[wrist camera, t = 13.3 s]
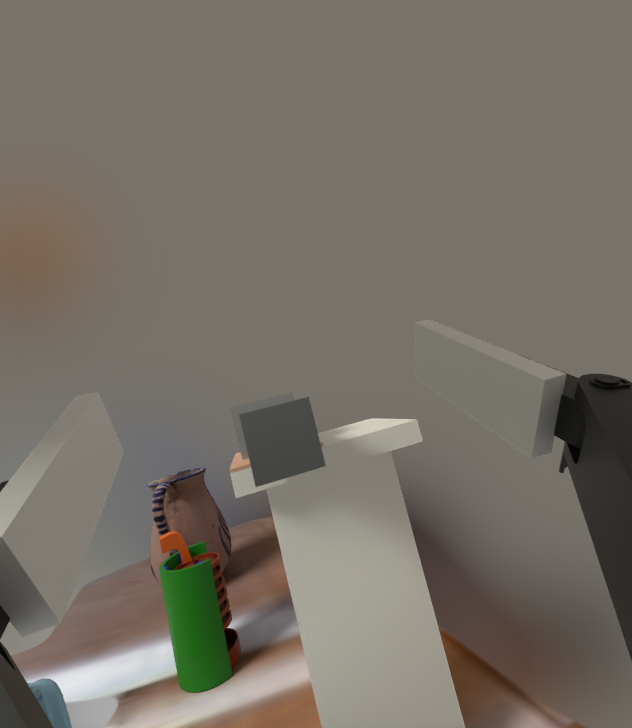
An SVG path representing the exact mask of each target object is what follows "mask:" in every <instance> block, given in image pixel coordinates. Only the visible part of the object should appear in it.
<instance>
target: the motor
mask: <svg viewBox="0 0 632 728" xmlns="http://www.w3.org/2000/svg"><path fill="white" fill-rule="evenodd" d="M159 539H160V545H161V551H162V554H164V553H166V552H168V551H169V550H171V549H178V551H179V552H177V553H175V554H173V555H172V556H170V557H169V558H167V559H166V560H165V561H164V562H163V563H162V564H161V565H160V567H159V572H160V578H161V583H162V589H163V595H164V600H165V606H166V612H167V617H168V623H169V629H170V634H171V640H172V646H173V651H174V657H175V663H176V668H177V674H178V680H179V684H180V687H181V688H182V689H183V690H185V691H187V692H202V691H205V690H209V689H211V688H214V687H216V686H218V685H220V684H221V683H223V682H225V681H226V680H227V679H229V678H230V677H231V676H233V675H232V670H231V669H232V668H233V667H234V666H235V664H236V663H237V662H238V660H239V658H240V655H241V649H240V644H239V638H238V634H237V632H236V631H235V630H234V629H231V628H227V627H228V626H229V624H230V622H231V620H232V615H231V611H230V609H229V607H230V605H229V600H228V598H227V589H226V587H225V586H224V585H225V579H224V576H223V575H222V573H223V569H222V565H221V564H219V563H220V560H221V559H220V554H219V553H217V552H208V553H207V548H206V543H205V541H204V542H201V543H198V544H195V545H192V546H189V547H187V545H186V543H185V541H184V539H183V537H182V535H181V534H180V533H179V532H177V531H171V532H168V533H166V534H164V535H162V536H161V537H159Z"/></svg>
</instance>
